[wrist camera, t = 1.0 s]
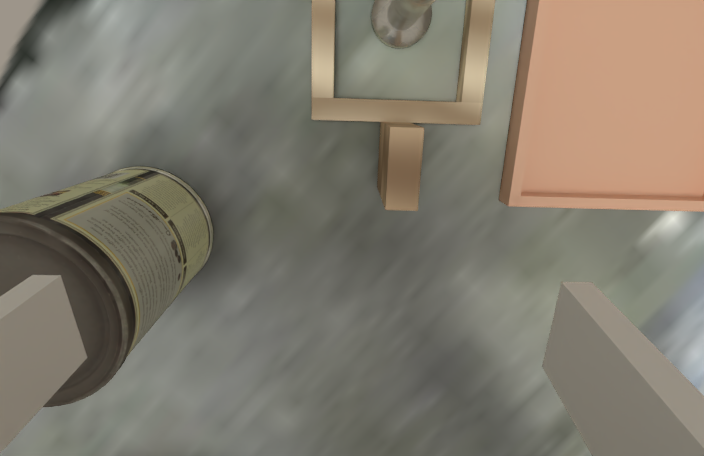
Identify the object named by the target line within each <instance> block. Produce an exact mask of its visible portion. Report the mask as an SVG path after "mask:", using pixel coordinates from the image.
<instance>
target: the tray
mask: <svg viewBox="0 0 704 456" xmlns="http://www.w3.org/2000/svg"><path fill="white" fill-rule="evenodd" d="M499 200H500V201H501V202H503V203H504V204H506V205H507V206H514V207H552V208H589V209H627V210H665V211H703V212H704V0H527V6H526V13H525V20H524V27H523V34H522V41H521V48H520V55H519V62H518V69H517V76H516V83H515V90H514V97H513V104H512V111H511V118H510V125H509V132H508V139H507V146H506V153H505V160H504V167H503V174H502V181H501V188H500V195H499Z"/></svg>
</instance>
